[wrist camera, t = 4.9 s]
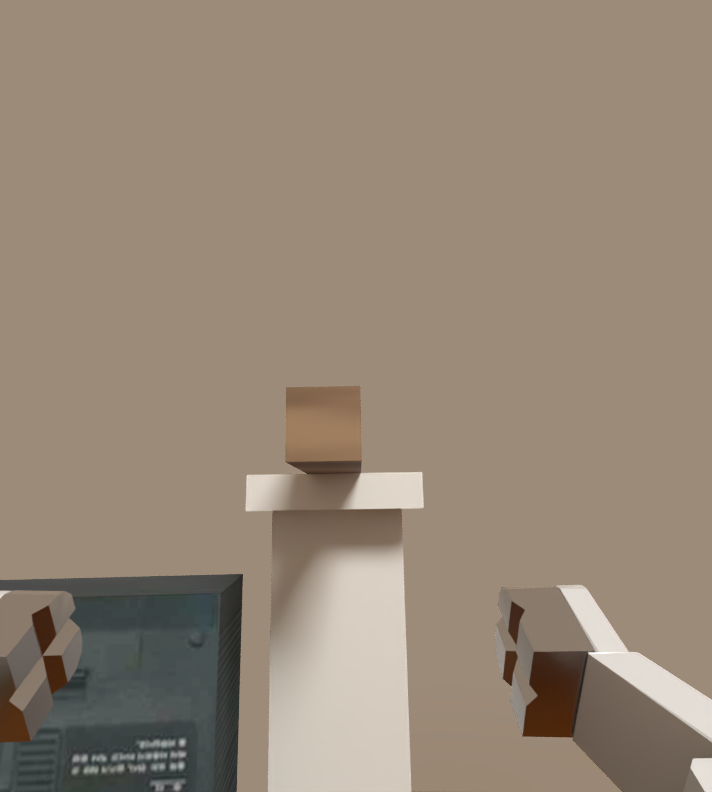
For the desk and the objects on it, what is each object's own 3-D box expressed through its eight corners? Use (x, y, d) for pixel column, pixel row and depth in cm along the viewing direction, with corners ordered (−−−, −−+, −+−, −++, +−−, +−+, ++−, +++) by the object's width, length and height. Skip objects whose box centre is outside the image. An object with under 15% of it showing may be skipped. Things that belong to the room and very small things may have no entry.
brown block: (361, 460, 20) (360, 386, 20) (285, 461, 20) (286, 387, 20) (360, 481, 41) (359, 445, 42) (323, 482, 41) (323, 446, 42)
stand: (468, 1039, 23) (439, 471, 28) (209, 1044, 23) (229, 475, 28) (427, 838, 37) (413, 481, 42) (265, 841, 37) (271, 483, 42)
